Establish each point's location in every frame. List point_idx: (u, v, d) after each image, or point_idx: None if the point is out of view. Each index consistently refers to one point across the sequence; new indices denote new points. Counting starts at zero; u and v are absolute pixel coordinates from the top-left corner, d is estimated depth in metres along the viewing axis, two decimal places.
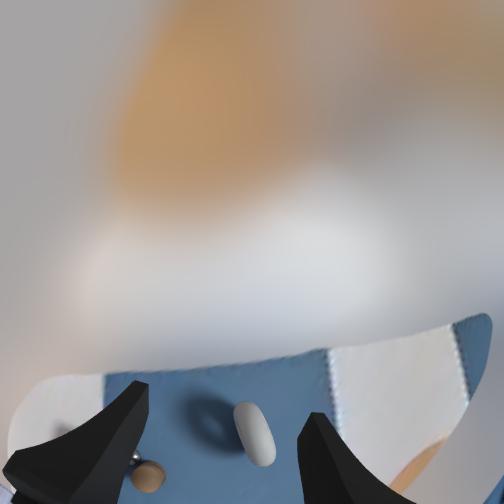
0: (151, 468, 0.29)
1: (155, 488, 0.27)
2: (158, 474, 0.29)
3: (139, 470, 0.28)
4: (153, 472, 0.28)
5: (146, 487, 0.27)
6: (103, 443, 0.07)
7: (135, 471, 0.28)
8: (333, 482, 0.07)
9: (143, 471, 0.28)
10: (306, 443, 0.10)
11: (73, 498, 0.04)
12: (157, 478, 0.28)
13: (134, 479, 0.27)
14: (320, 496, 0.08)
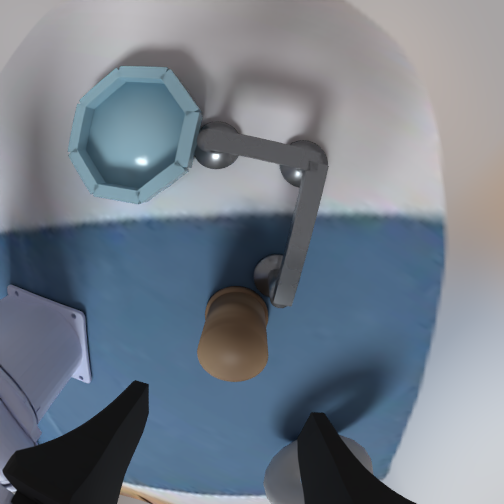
0: None
1: (213, 372, 0.16)
2: None
3: (258, 346, 0.16)
4: (256, 372, 0.16)
5: (212, 356, 0.16)
6: (102, 443, 0.07)
7: (254, 337, 0.15)
8: (333, 482, 0.07)
9: (255, 354, 0.16)
10: (306, 443, 0.10)
11: (73, 498, 0.04)
12: (241, 378, 0.16)
13: (230, 334, 0.15)
14: (320, 496, 0.08)
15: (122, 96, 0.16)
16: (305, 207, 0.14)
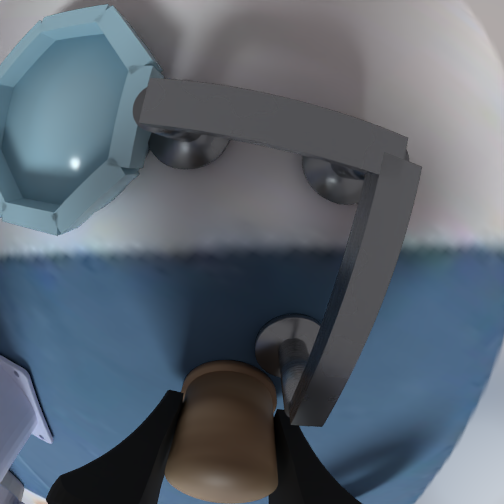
0: None
1: (192, 494, 0.08)
2: None
3: (262, 475, 0.08)
4: (258, 497, 0.08)
5: (189, 481, 0.08)
6: (148, 459, 0.07)
7: (256, 468, 0.07)
8: (291, 483, 0.07)
9: (258, 482, 0.08)
10: None
11: None
12: (235, 501, 0.08)
13: (215, 463, 0.07)
14: (280, 496, 0.08)
15: (47, 62, 0.08)
16: (372, 259, 0.06)
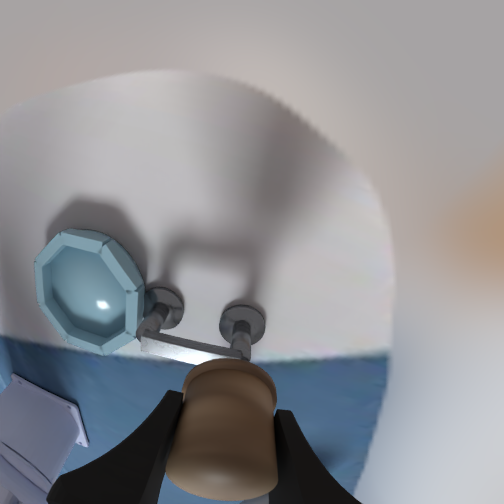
0: None
1: (193, 491, 0.08)
2: None
3: (262, 472, 0.08)
4: (257, 494, 0.08)
5: (189, 478, 0.08)
6: (149, 459, 0.07)
7: (256, 465, 0.08)
8: (290, 483, 0.07)
9: (258, 480, 0.08)
10: None
11: None
12: (234, 498, 0.08)
13: (216, 460, 0.07)
14: (280, 496, 0.08)
15: (71, 254, 0.17)
16: None
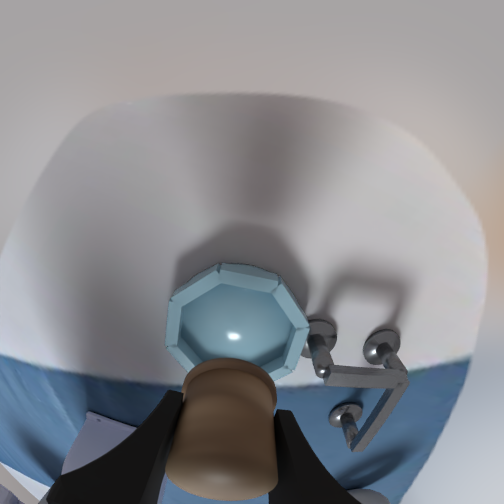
0: None
1: (192, 491, 0.08)
2: None
3: (262, 472, 0.08)
4: (257, 494, 0.08)
5: (189, 478, 0.08)
6: (149, 459, 0.07)
7: (256, 464, 0.08)
8: (291, 483, 0.07)
9: (258, 480, 0.08)
10: None
11: None
12: (234, 498, 0.08)
13: (216, 460, 0.07)
14: (280, 496, 0.08)
15: (219, 291, 0.18)
16: (387, 407, 0.16)
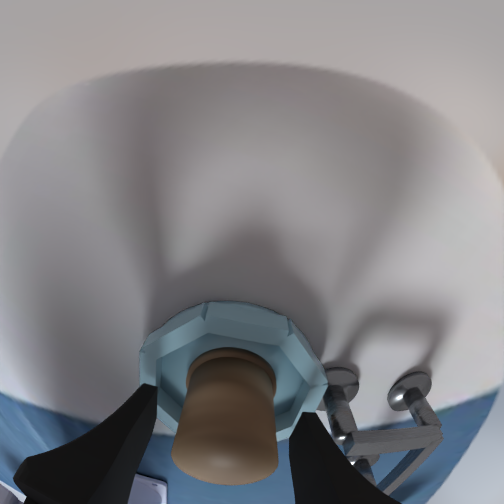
0: None
1: (196, 475, 0.09)
2: None
3: (263, 454, 0.09)
4: (259, 478, 0.09)
5: (194, 461, 0.09)
6: (114, 448, 0.07)
7: (258, 446, 0.08)
8: (322, 482, 0.07)
9: (259, 462, 0.09)
10: (297, 443, 0.10)
11: None
12: (237, 482, 0.09)
13: (220, 441, 0.08)
14: (310, 496, 0.08)
15: (207, 338, 0.13)
16: (414, 465, 0.11)
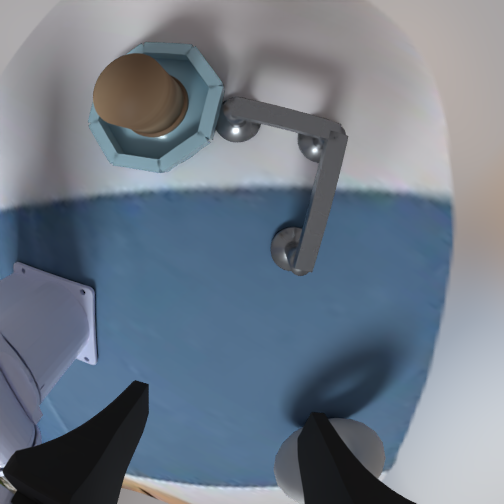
0: (162, 102, 0.13)
1: (104, 114, 0.12)
2: (145, 120, 0.13)
3: (153, 72, 0.12)
4: (148, 107, 0.12)
5: (106, 92, 0.12)
6: (102, 443, 0.07)
7: (150, 62, 0.12)
8: (333, 482, 0.07)
9: (150, 82, 0.12)
10: (306, 443, 0.10)
11: (73, 498, 0.04)
12: (131, 118, 0.12)
13: (128, 61, 0.11)
14: (320, 496, 0.08)
15: None
16: (327, 173, 0.14)
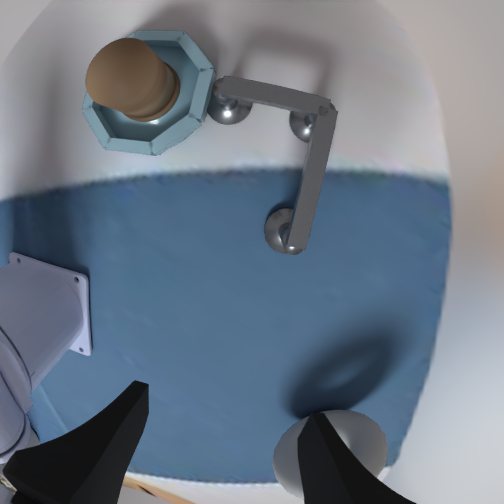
0: (152, 83, 0.12)
1: (96, 96, 0.12)
2: (136, 101, 0.13)
3: (144, 54, 0.11)
4: (138, 87, 0.12)
5: (98, 75, 0.12)
6: (102, 443, 0.07)
7: (141, 45, 0.11)
8: (333, 482, 0.07)
9: (140, 63, 0.11)
10: (306, 443, 0.10)
11: (73, 498, 0.04)
12: (122, 98, 0.12)
13: (119, 46, 0.11)
14: (320, 496, 0.08)
15: None
16: (317, 148, 0.14)
